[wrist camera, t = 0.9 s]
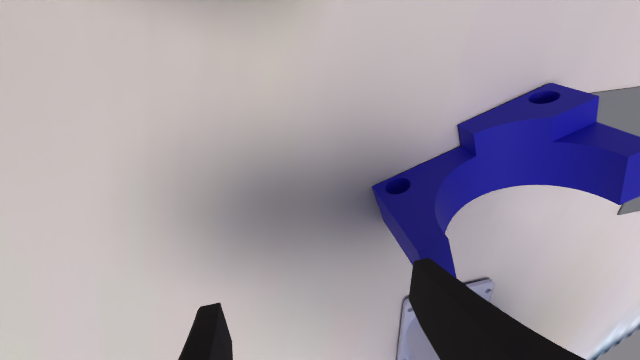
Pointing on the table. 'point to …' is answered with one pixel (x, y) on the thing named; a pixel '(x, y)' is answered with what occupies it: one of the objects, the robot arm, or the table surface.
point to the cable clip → (510, 165)
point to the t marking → (621, 121)
